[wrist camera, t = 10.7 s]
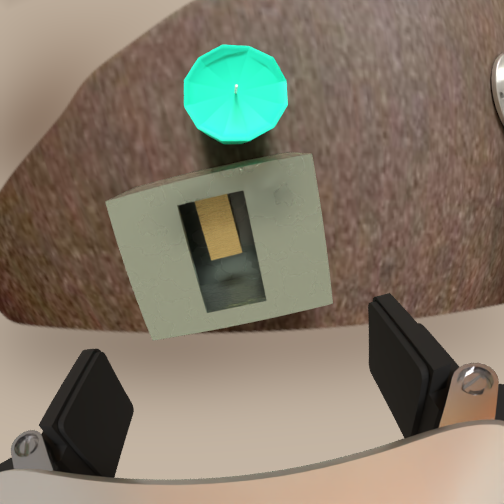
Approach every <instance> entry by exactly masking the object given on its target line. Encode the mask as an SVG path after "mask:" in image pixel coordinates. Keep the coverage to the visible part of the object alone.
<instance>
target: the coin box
mask: <svg viewBox="0 0 504 504" xmlns="http://www.w3.org/2000/svg"><path fill="white" fill-rule="evenodd" d="M224 194H229V195H230V199H231V203H232V207H233V211H234V215H235V219H236V222H237V226H238V230H239V234H240V240H241V247H242V253H239V254H235V255H231V256H227V257H223V258H219V259H215V260H211V257H210V254H209V251H208V247H207V244H206V240H205V237H204V233H203V230H202V226H201V223H200V219H199V216H198V212H197V209H196V205H195V202H194V201H198V200H202V199H206V198H211V197H215V196H220V195H224ZM106 205H107V209H108V213H109V216H110V220H111V223H112V227H113V230H114V233H115V237H116V240H117V243H118V246H119V250H120V253H121V256H122V259H123V262H124V265H125V268H126V271H127V274H128V277H129V280H130V282H131V285H132V288H133V291H134V294H135V296H136V299H137V302H138V305H139V307H140V310H141V312H142V315H143V318H144V320H145V323H146V325H147V328H148V330H149V333H150V335H151V337H152V340H158V339H165V338H171V337H177V336H183V335H189V334H194V333H200V332H205V331H210V330H216V329H221V328H226V327H231V326H236V325H241V324H246V323H251V322H255V321H260V320H265V319H269V318H274V317H278V316H283V315H287V314H291V313H296V312H300V311H304V310H308V309H313V308H317V307H321V306H325V305H329V304H333V301H332V291H331V282H330V273H329V265H328V257H327V249H326V241H325V234H324V227H323V220H322V213H321V206H320V200H319V193H318V187H317V181H316V175H315V169H314V163H313V158H312V154H308V153H294V152H287V153H281V154H276V155H271V156H265V157H260V158H255V159H250V160H245V161H240V162H236V163H231V164H226V165H222V166H217V167H213V168H209V169H204V170H200V171H196V172H192V173H188V174H184V175H180V176H176V177H172V178H168V179H164V180H160V181H157V182H153V183H149V184H146V185H142V186H138V187H135V188H133V189H131V190H129V191H127V192H125V193H122V194H120V195H118V196H116V197H114V198H112V199H110V200H108V201H106Z"/></svg>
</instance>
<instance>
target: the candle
mask: <svg viewBox="0 0 504 504" xmlns="http://www.w3.org/2000/svg"><path fill="white" fill-rule="evenodd" d="M287 105H288V102H287V82H286V79H285V77H284V75H283V74H282V72H281V70H280V68H279V66H278V65H277V63H276V61H275V59H274V58H273V57H271V56H269V55H267V54H265V53H263V52H261V51H259V50H256V49H254V48H252V47H250V46H238V45H221V46H219V47H217V48H215V49H213V50H211V51H210V52H208V53H206V54H204V55H203V56H201V57H199V58H198V59H197V61H196V62H195V64H194V65H193V67H192V68H191V70H190V72H189V73H188V75H187V76H186V78H185V80H184V107H185V109H186V110H187V112H188V114H189V115H190V117H191V119H192V120H193V122H194V124H195V125H196V127H197V128H198V129H199V130H200V131H202V132H203V133H205V134H206V135H208V136H209V137H211V138H213V139H215V140H217V141H219V142H220V143H222V144H243V143H246V142H248V141H251V140H252V139H254V138H256V137H258V136H260V135H261V134H263V133H265V132H267V131H269V130H271V129H272V128H274V127H275V125H276V124H277V122H278V120H279V119H280V117H281V115H282V114H283V112H284V110H285V109H286V107H287Z"/></svg>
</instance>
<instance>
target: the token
mask: <svg viewBox="0 0 504 504" xmlns="http://www.w3.org/2000/svg"><path fill="white" fill-rule="evenodd" d="M194 202H195V205H196V209H197V212H198V216H199V219H200V223H201V226H202V230H203V233H204V237H205V240H206V244H207V247H208V251H209V254H210V257H211V260H215V259H219V258H223V257H227V256H231V255H235V254H239V253H242V247H241V240H240V234H239V230H238V226H237V222H236V219H235V215H234V211H233V207H232V203H231V199H230V195H229V194H224V195H220V196H215V197H211V198H206V199H202V200H198V201H194Z"/></svg>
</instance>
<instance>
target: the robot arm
mask: <svg viewBox="0 0 504 504" xmlns="http://www.w3.org/2000/svg"><path fill="white" fill-rule="evenodd" d="M491 81H492V92H493V98H494V102H495V106H496V109H497V112H498V115H499V117H500V119H501V121H502V124H503V125H504V53H502V54H500V55H499V56H498V57H497V58H496V60H495V62H494V64H493V69H492V78H491ZM368 312H369V368H370V372H371V374H372V376H373V378H374V380H375V381H376V383H377V385H378V387H379V389H380V391H381V393H382V395H383V397H384V399H385V401H386V402H387V404H388V406H389V408H390V410H391V412H392V414H393V416H394V418H395V420H396V422H397V424H398V426H399V428H400V430H401V432H402V434H403V436H404V439H401V440H398V441H395V442H392V443H389V444H386V445H383V446H380V447H377V448H374V449H370V450H366V451H363V452H359V453H356V454H352V455H348V456H344V457H340V458H336V459H333V460H328V461H324V462H320V463H315V464H311V465H306V466H301V467H296V468H290V469H285V470H279V471H272V472H265V473H258V474H250V475H242V476H233V477H222V478H207V479H184V480H147V479H146V480H145V479H124V478H114V477H115V473H116V469H117V466H118V462H119V459H120V455H121V451H122V448H123V445H124V441H125V438H126V435H127V432H128V428H129V425H130V422H131V419H132V416H133V412H134V411H133V405H132V403H131V401H130V399H129V398H128V396H127V394H126V393H125V391H124V389H123V387H122V385H121V383H120V382H119V380H118V378H117V376H116V374H115V372H114V370H113V369H112V367H111V365H110V363H109V361H108V359H107V357H106V355H105V354H104V353H103V352H101V351H100V350H99V349H87V350H83V351H82V353H81V354H80V356H79V357H78V359H77V361H76V362H75V364H74V365H73V367H72V369H71V370H70V372H69V374H68V376H67V377H66V379H65V380H64V382H63V384H62V385H61V387H60V389H59V390H58V392H57V394H56V395H55V397H54V399H53V401H52V402H51V404H50V406H49V408H48V409H47V411H46V413H45V415H44V417H43V418H42V420H41V422H40V424H39V426H40V427H41V429H42V430H43V433H42V434H40V433H39V432H38V431H35V430H30V431H26V432H23V433H22V434H21V435H19V436H18V437H17V438H16V439H15V440H14V442H13V443H12V446H11V455H12V458H10V459H8V460H6V461H4V462H3V463H1V464H0V504H504V384H498V383H499V382H498V376H497V374H496V373H495V371H494V370H493V369H491V368H490V367H488V366H486V365H484V364H480V363H469V364H465V365H463V366H461V367H459V366H458V365H457V364H456V363H455V361H454V360H453V359H452V358H451V357H450V355H449V354H448V353H447V352H446V351H445V350H444V348H443V347H442V346H441V345H440V344H439V343H438V342H437V340H436V339H435V338H434V337H433V336H432V335H431V334H430V332H429V331H428V330H427V329H426V328H425V327H424V326H423V325H422V324H419V323H417V322H416V321H415V320H414V319H413V318H412V317H411V316H410V314H409V313H408V312H407V311H406V310H405V309H404V308H403V307H402V306H401V305H400V303H399V302H398V301H397V300H396V299H395V298H394V297H393V296H392V295H391V294H390V293H388V294H384V295H381V296H377V297H374V298H373V302H371V303H369V305H368Z"/></svg>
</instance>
